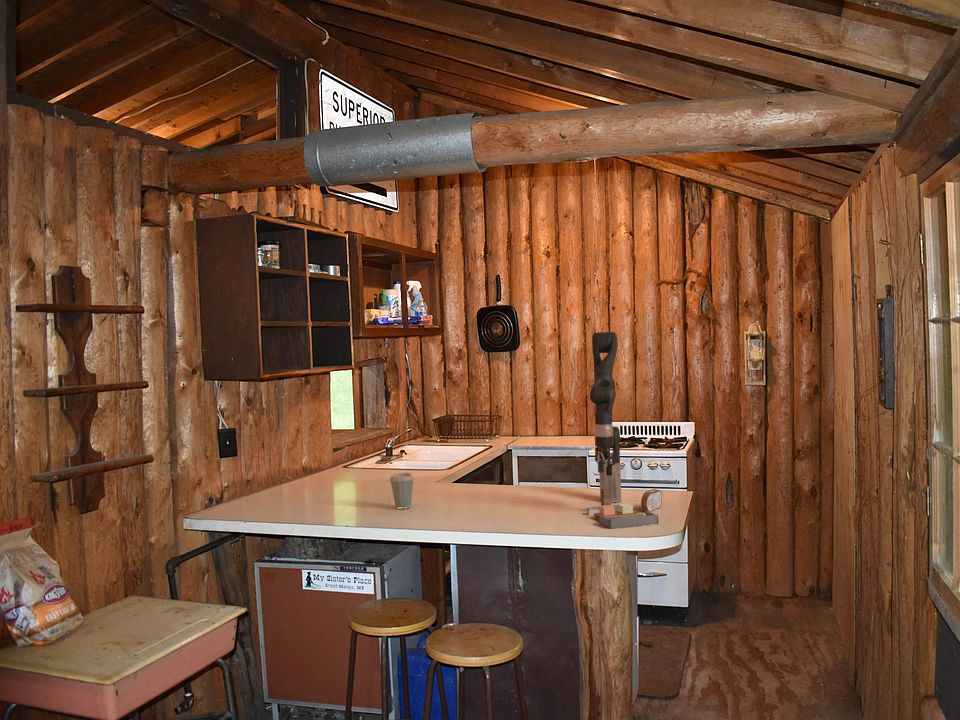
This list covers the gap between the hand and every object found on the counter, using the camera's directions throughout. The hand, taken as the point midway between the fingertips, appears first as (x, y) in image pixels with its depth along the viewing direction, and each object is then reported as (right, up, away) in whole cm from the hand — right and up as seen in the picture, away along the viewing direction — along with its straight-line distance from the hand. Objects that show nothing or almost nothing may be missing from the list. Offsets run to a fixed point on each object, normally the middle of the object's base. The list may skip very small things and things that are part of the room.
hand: (605, 474), depth 317 cm
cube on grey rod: (+1, -16, 0) cm, 16 cm away
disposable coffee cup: (-86, -19, +23) cm, 91 cm away
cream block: (+7, -14, -8) cm, 18 cm away
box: (+6, -16, -21) cm, 27 cm away
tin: (+20, -16, +3) cm, 26 cm away
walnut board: (+4, -16, -11) cm, 20 cm away
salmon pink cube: (-1, -14, -10) cm, 18 cm away
